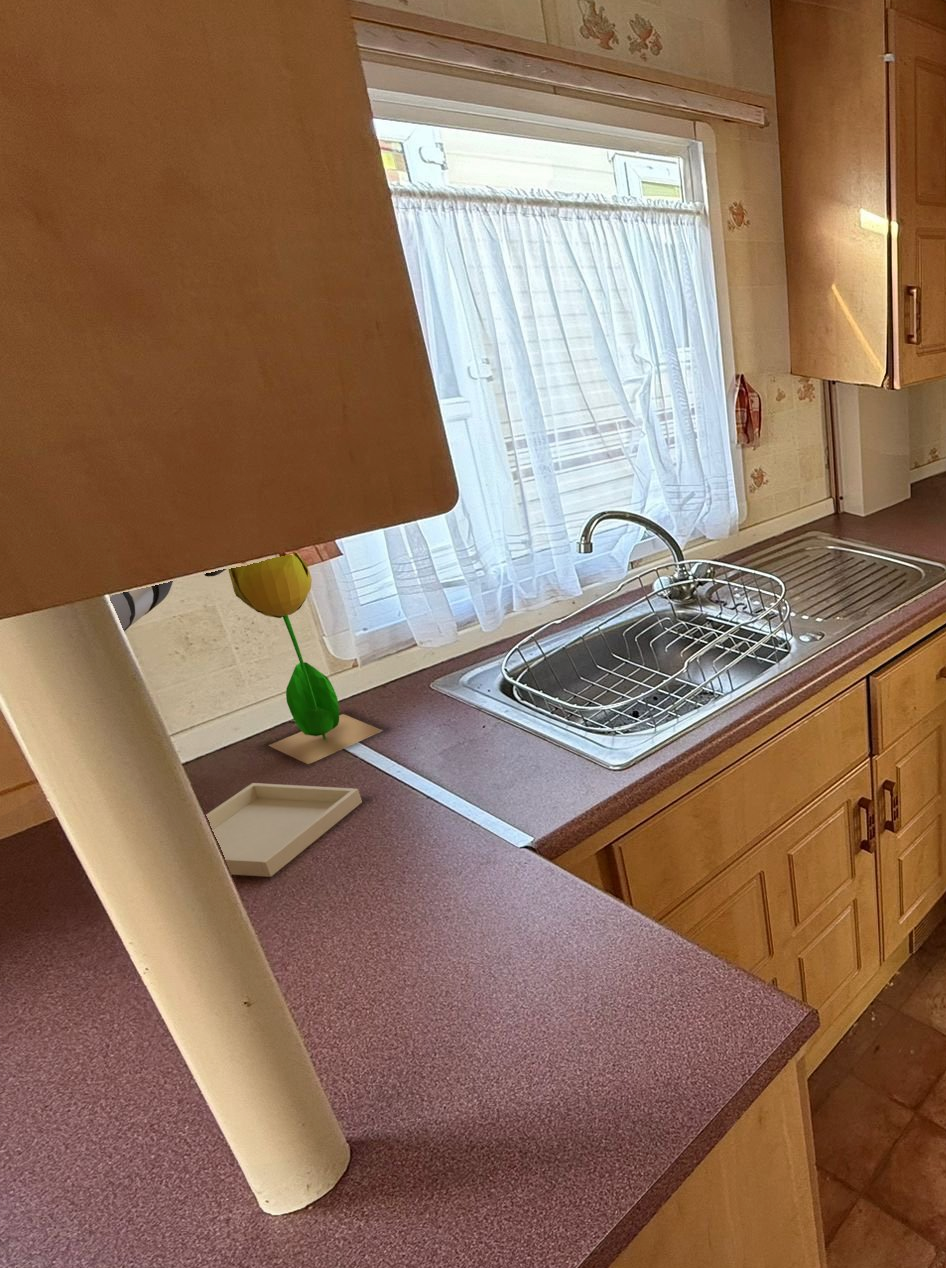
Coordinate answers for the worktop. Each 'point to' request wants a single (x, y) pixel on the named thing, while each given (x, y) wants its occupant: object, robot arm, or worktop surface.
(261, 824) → the baking tray
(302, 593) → the flower
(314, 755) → the cork mat
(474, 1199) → the worktop surface
